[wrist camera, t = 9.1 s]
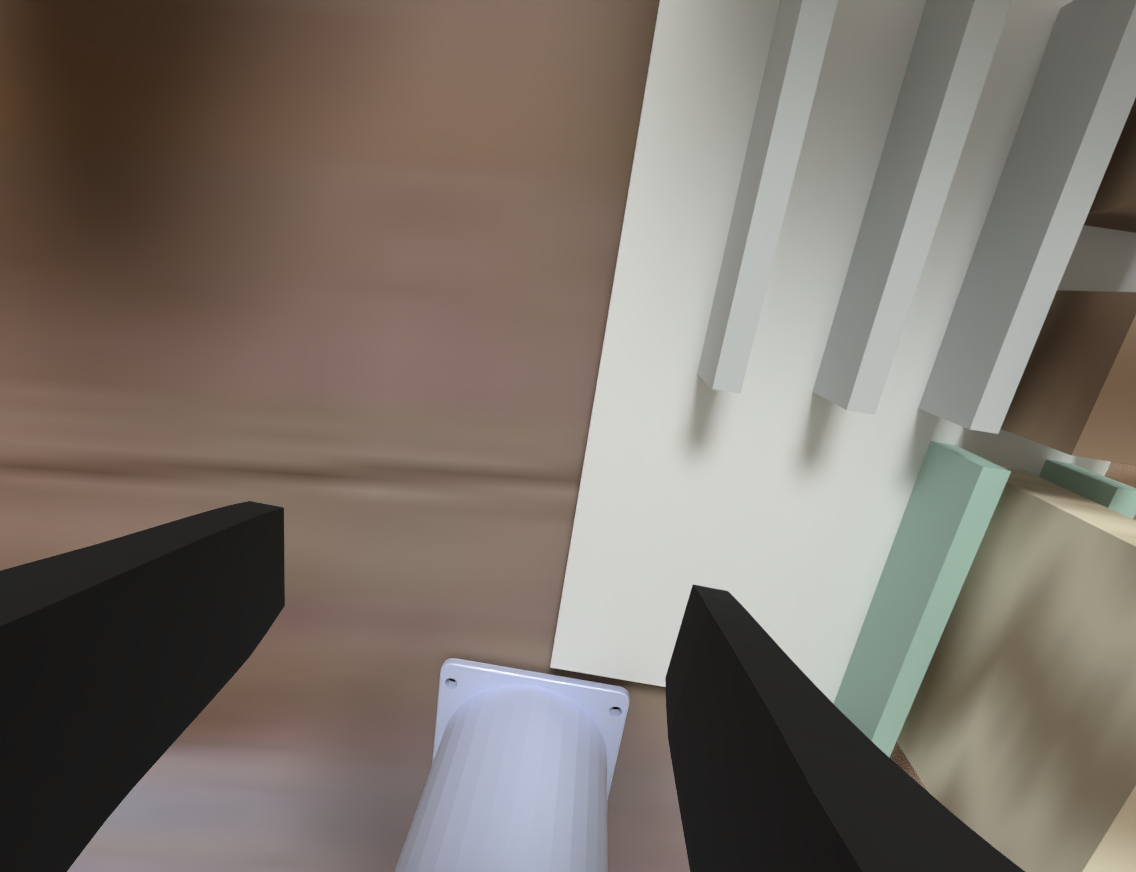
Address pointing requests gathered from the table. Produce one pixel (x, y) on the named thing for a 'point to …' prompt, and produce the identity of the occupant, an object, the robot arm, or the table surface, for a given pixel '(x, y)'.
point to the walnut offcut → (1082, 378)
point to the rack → (838, 323)
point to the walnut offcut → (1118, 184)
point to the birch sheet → (1038, 686)
